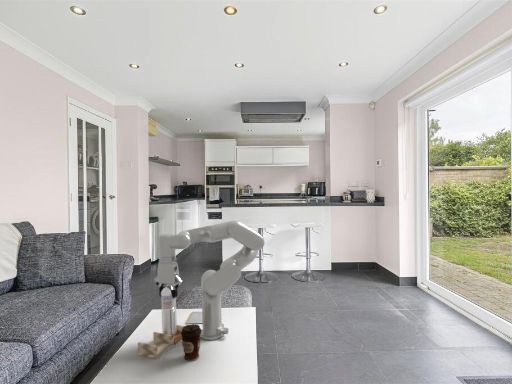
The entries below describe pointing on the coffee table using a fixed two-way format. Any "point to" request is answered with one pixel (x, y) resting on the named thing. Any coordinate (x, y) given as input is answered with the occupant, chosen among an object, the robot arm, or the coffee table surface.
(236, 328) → the coffee table surface
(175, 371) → the coffee table surface
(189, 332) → the coffee cup
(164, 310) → the water bottle
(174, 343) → the wooden bottle cradle
